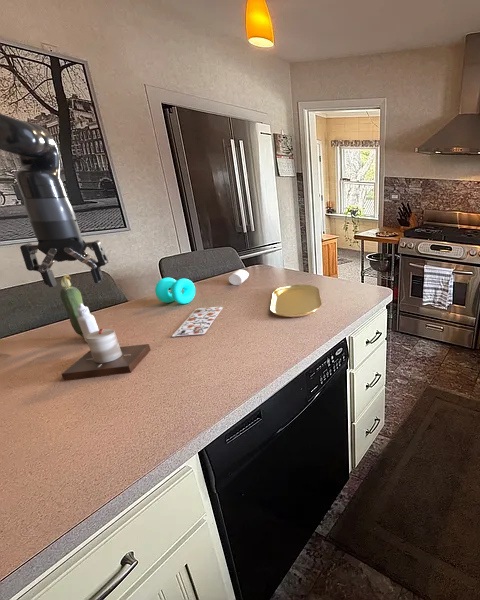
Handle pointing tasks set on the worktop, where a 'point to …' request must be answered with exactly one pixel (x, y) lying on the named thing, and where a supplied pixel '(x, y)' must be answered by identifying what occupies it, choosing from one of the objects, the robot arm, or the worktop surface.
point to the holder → (107, 364)
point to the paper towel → (198, 321)
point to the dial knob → (104, 345)
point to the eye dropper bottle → (86, 321)
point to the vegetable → (71, 302)
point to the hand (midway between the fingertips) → (76, 284)
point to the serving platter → (295, 300)
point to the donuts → (175, 290)
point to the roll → (238, 277)
